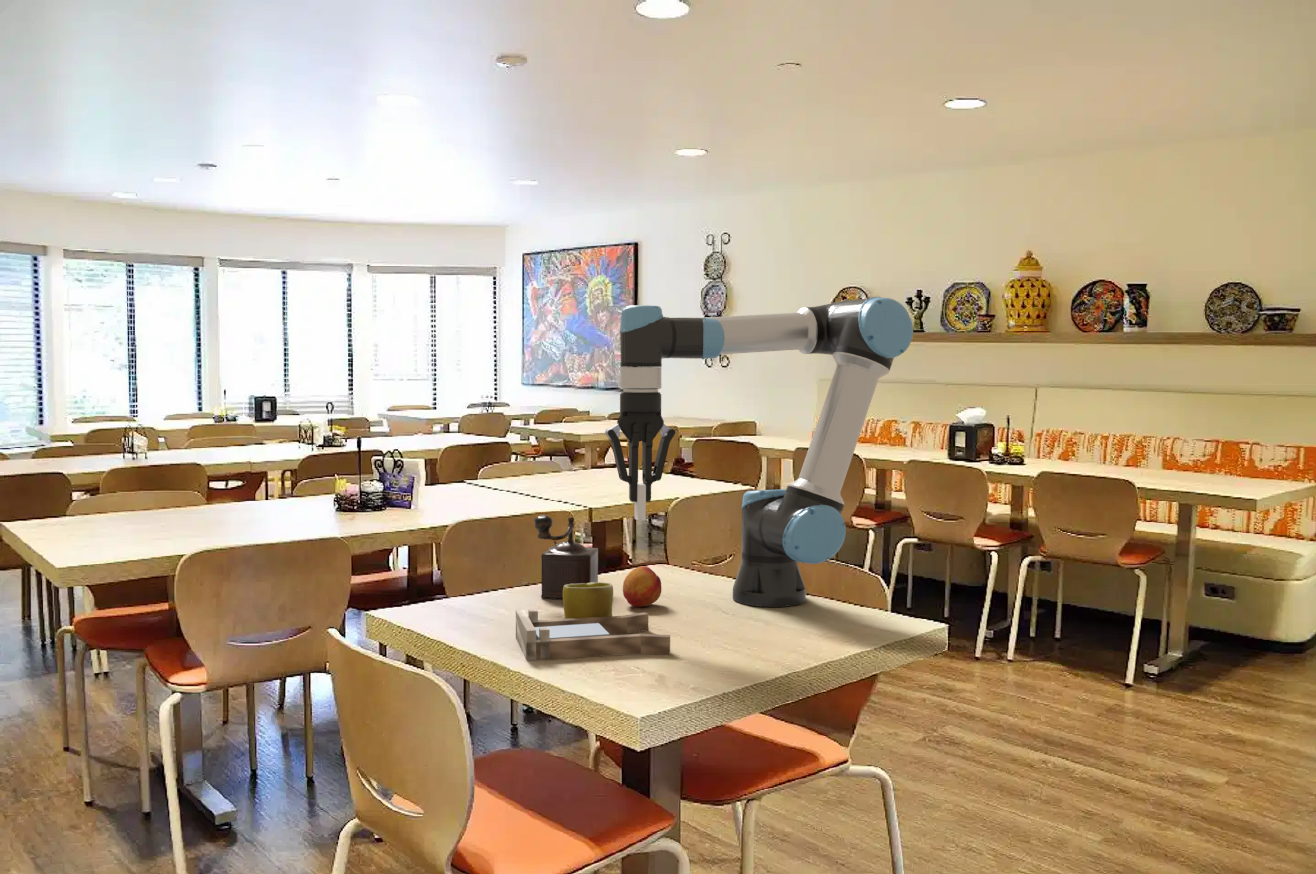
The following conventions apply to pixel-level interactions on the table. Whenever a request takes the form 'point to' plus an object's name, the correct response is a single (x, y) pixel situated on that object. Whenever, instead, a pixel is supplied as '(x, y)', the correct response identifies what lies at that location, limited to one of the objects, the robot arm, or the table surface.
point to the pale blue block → (574, 631)
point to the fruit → (642, 587)
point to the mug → (587, 600)
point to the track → (588, 645)
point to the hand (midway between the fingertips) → (640, 519)
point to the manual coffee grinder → (564, 560)
